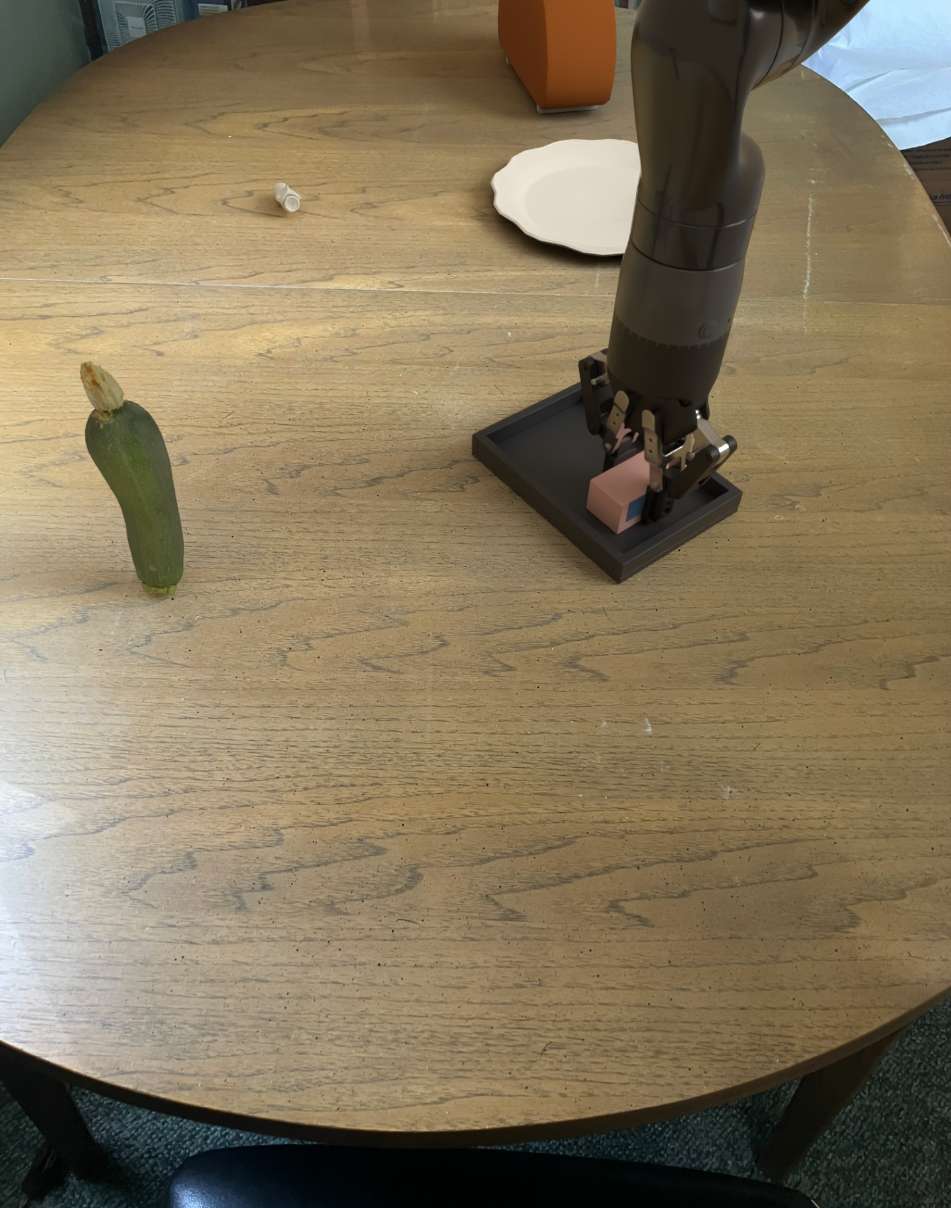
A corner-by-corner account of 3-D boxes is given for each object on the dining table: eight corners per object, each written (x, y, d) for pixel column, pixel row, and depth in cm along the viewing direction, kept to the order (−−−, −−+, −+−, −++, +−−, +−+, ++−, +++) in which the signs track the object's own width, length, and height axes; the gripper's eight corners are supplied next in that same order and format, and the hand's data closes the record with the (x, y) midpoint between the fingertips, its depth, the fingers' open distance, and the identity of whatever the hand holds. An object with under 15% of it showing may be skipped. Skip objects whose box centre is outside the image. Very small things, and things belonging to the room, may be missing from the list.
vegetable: (166, 557, 69) (86, 320, 54) (218, 574, 68) (151, 338, 53) (131, 600, 67) (36, 363, 51) (184, 618, 66) (104, 383, 50)
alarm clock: (611, 121, 117) (631, -36, 104) (541, 126, 116) (552, -31, 103) (557, 47, 132) (569, -98, 119) (495, 52, 130) (499, -95, 118)
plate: (584, 296, 92) (587, 279, 91) (447, 189, 105) (447, 172, 104) (769, 227, 101) (774, 210, 100) (622, 136, 115) (624, 120, 113)
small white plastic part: (309, 195, 104) (305, 166, 102) (300, 222, 100) (296, 194, 98) (276, 193, 104) (272, 165, 102) (266, 221, 100) (262, 192, 98)
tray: (737, 511, 74) (743, 491, 72) (619, 584, 69) (623, 565, 67) (586, 396, 82) (588, 376, 81) (471, 454, 77) (471, 434, 76)
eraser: (682, 496, 74) (690, 467, 71) (617, 535, 71) (623, 506, 69) (650, 471, 76) (656, 442, 73) (585, 508, 73) (589, 479, 70)
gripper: (800, 339, 58) (735, 534, 71) (639, 240, 65) (607, 435, 78) (716, 384, 55) (664, 579, 68) (556, 275, 62) (537, 471, 75)
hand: (634, 501), depth 73 cm, fingers closed on eraser, 3 cm apart
